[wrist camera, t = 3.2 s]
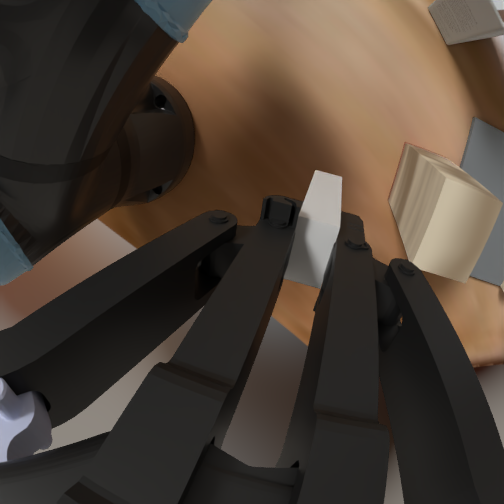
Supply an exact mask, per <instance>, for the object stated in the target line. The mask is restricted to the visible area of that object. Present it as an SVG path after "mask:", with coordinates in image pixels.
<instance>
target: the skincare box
mask: <svg viewBox="0 0 504 504" xmlns="http://www.w3.org/2000/svg"><path fill="white" fill-rule="evenodd" d="M428 9H429V11H430V13H431V15H432V17H433V19H434V21H435V23H436V24H437V26H438V28H439V30H440V32H441V34H442V36H443V38H444V40H445V42H446V44H447V45H452V44H457V43H463V42H468V41H474V40H479V39H485V38H491V37H496V36H500V35H504V0H436V1H434V2H433V3H432V4H431V5H430V6H429V7H428Z"/></svg>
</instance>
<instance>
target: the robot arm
mask: <svg viewBox="0 0 504 504" xmlns="http://www.w3.org/2000/svg"><path fill="white" fill-rule="evenodd" d="M211 1H212V0H0V285H5V284H7V283H9V282H10V281H12V280H14V279H15V278H17V277H18V276H20V275H21V274H22V273H24V272H26V271H30V270H31V269H32V268H33V265H34V264H36V263H37V262H38V261H40V260H41V259H42V258H43V257H45V256H46V255H47V254H48V253H50V252H51V251H53V250H54V249H55V248H56V247H58V246H59V245H61V244H62V243H63V242H65V241H66V240H67V239H69V238H70V237H71V236H73V235H74V234H76V233H77V232H78V231H80V230H81V229H83V228H84V227H85V226H87V225H88V224H90V223H91V222H93V221H94V220H96V219H97V218H98V217H100V216H101V215H103V214H104V213H106V212H107V211H109V210H110V209H112V208H114V207H121V206H129V205H136V204H143V203H148V202H151V201H153V200H156V199H158V198H159V197H161V196H163V195H164V194H166V193H167V192H169V191H170V190H172V189H173V188H174V187H175V186H176V185H177V184H178V183H179V182H180V181H181V180H182V178H183V177H184V175H185V174H186V172H187V170H188V168H189V166H190V163H191V160H192V156H193V151H194V142H195V134H194V126H193V121H192V117H191V114H190V111H189V108H188V106H187V104H186V102H185V101H184V99H183V97H182V96H181V95H180V93H179V92H178V91H177V90H176V89H175V88H174V87H173V86H172V85H171V84H170V83H168V82H167V81H165V80H164V79H162V78H160V77H157V76H155V74H156V73H157V71H158V70H159V68H160V67H161V66H162V64H163V63H164V61H165V60H166V59H167V57H168V56H169V55H170V53H171V52H172V51H173V49H174V48H175V47H176V46H177V44H178V43H179V42H180V43H183V42H184V41H185V40H186V39H187V38H188V31H189V30H190V28H191V27H192V26H193V24H194V23H195V21H196V20H197V19H198V18H199V16H200V15H201V14H202V12H203V11H204V10H205V9H206V7H207V6H208V5H209V4H210V2H211ZM341 197H342V177H340V176H337V175H333V174H329V173H326V172H322V171H318V170H315V173H314V175H313V178H312V181H311V183H310V186H309V189H308V192H307V194H306V197H305V200H304V202H303V201H299V200H295V199H291V198H288V197H285V196H279V195H271V196H266V197H265V198H264V199H263V205H262V211H261V217H260V220H259V222H258V223H257V225H256V226H239V225H237V218H236V217H235V216H234V215H233V214H231V213H228V212H225V211H222V210H215V211H208V212H205V213H203V214H201V215H199V216H197V217H195V218H193V219H192V220H190V221H188V222H186V223H184V224H182V225H180V226H178V227H177V228H175V229H173V230H171V231H169V232H167V233H165V234H164V235H162V236H160V237H158V238H156V239H155V240H153V241H151V242H149V243H147V244H146V245H144V246H142V247H140V248H138V249H137V250H135V251H133V252H131V253H130V254H128V255H126V256H124V257H123V258H121V259H119V260H118V261H116V262H114V263H112V264H111V265H109V266H107V267H106V268H104V269H102V270H101V271H99V272H97V273H96V274H94V275H92V276H91V277H89V278H87V279H86V280H84V281H83V282H81V283H79V284H77V285H76V286H74V287H73V288H71V289H69V290H68V291H66V292H65V293H63V294H61V295H60V296H58V297H57V298H55V299H53V300H52V301H50V302H49V303H47V304H46V305H44V306H43V307H41V308H40V309H38V310H36V311H35V312H33V313H32V314H30V315H29V316H28V317H26V318H24V319H23V320H22V321H20V322H18V323H17V324H16V325H14V326H13V327H10V328H7V329H4V330H2V331H0V504H383V503H384V497H385V488H386V479H387V470H388V458H389V431H388V429H387V427H386V426H385V425H381V424H379V422H378V416H377V414H378V386H379V377H380V381H381V384H382V389H383V393H384V397H385V401H386V405H387V410H388V414H389V419H390V423H391V428H392V433H393V438H394V443H395V449H396V454H397V460H398V465H399V471H400V477H401V484H402V490H403V498H404V504H504V448H503V446H502V442H501V439H500V436H499V433H498V430H497V427H496V424H495V421H494V418H493V415H492V413H491V410H490V407H489V405H488V402H487V400H486V397H485V395H484V392H483V390H482V387H481V385H480V382H479V380H478V378H477V375H476V373H475V371H474V369H473V366H472V364H471V362H470V360H469V358H468V356H467V354H466V352H465V349H464V347H463V345H462V343H461V341H460V339H459V337H458V335H457V333H456V331H455V330H454V328H453V326H452V324H451V322H450V320H449V318H448V316H447V315H446V313H445V311H444V309H443V307H442V305H441V304H440V302H439V300H438V298H437V297H436V295H435V293H434V292H433V290H432V288H431V286H430V285H429V283H428V281H427V280H426V278H425V277H424V275H423V273H422V272H421V270H420V269H419V268H418V267H417V266H416V265H414V264H413V263H412V262H409V261H408V260H406V259H405V260H404V259H399V258H395V259H392V260H391V262H390V264H389V266H387V265H385V264H383V263H381V262H379V261H377V260H376V259H374V258H373V257H372V249H371V247H370V245H369V244H368V243H367V242H365V235H364V228H363V227H364V226H363V221H362V220H361V219H360V217H359V216H357V215H353V214H350V213H346V212H343V211H341ZM283 278H284V279H287V280H291V281H294V282H298V283H301V284H305V285H309V286H312V287H316V288H319V289H320V288H321V290H320V293H319V295H318V298H317V301H316V304H315V306H314V309H313V311H315V316H314V321H313V326H312V331H311V336H310V341H309V346H308V350H307V355H306V359H305V364H304V368H303V373H302V377H301V381H300V385H299V389H298V394H297V398H296V402H295V406H294V410H293V414H292V417H291V421H290V425H289V428H288V432H287V436H286V440H285V443H284V446H283V450H282V453H281V456H280V458H279V460H278V462H277V464H276V467H275V468H264V467H251V466H248V465H246V464H244V463H243V462H241V461H239V460H237V459H236V458H234V457H232V456H231V455H229V454H227V453H226V452H224V451H222V450H221V446H222V443H223V440H224V438H225V435H226V432H227V430H228V428H229V425H230V423H231V420H232V418H233V415H234V413H235V410H236V408H237V405H238V402H239V400H240V397H241V395H242V392H243V390H244V387H245V385H246V382H247V379H248V377H249V374H250V372H251V369H252V366H253V364H254V361H255V358H256V356H257V353H258V350H259V347H260V345H261V342H262V339H263V337H264V334H265V331H266V328H267V326H268V323H269V320H270V317H271V315H272V312H273V309H274V306H275V303H276V301H277V298H278V295H279V292H280V289H281V286H282V282H283ZM322 282H323V283H322ZM321 285H322V287H321ZM205 304H206V305H205ZM204 305H205V306H204ZM203 306H204V308H203V309H202V311H201V312H200V314H199V316H198V317H197V319H196V320H195V322H194V324H193V325H192V327H191V329H190V330H189V331H188V333H187V335H186V337H185V338H184V340H183V341H182V343H181V344H180V346H179V348H178V349H177V351H176V352H175V354H174V356H173V357H172V358H171V360H170V361H169V362H168V363H162V362H159V363H158V364H156V365H155V366H154V367H153V368H152V369H151V371H150V372H149V373H148V375H147V376H146V378H145V379H144V381H143V382H142V384H141V385H140V387H139V388H138V390H137V391H136V393H135V395H134V396H133V398H132V399H131V401H130V402H129V404H128V405H127V407H126V408H125V410H124V411H123V413H122V415H121V416H120V418H119V419H118V421H117V422H116V424H115V425H114V427H113V429H112V430H111V431H110V432H106V433H102V434H100V435H97V436H94V437H91V438H88V439H85V440H82V441H79V442H76V443H73V444H70V445H66V446H63V447H60V448H57V449H53V450H49V451H46V452H42V453H38V454H35V455H33V454H34V452H36V451H37V450H39V449H43V450H44V449H47V448H49V447H50V446H51V443H52V435H51V429H52V428H54V427H57V426H59V425H61V424H63V423H65V422H67V421H68V420H70V419H72V418H73V417H75V416H76V415H77V414H79V413H80V412H82V411H83V410H84V409H86V408H87V407H88V406H89V405H90V404H92V403H93V402H94V401H95V400H96V399H97V398H98V397H100V396H101V395H102V394H103V393H104V392H105V391H107V390H108V389H109V388H110V387H111V386H112V385H114V384H115V383H116V382H117V381H118V380H119V379H120V378H122V377H123V376H124V375H125V374H126V373H127V372H129V371H130V370H131V369H132V368H133V367H134V366H136V365H137V364H138V363H139V362H140V361H141V360H142V359H144V358H145V357H146V356H147V355H148V354H149V353H150V352H152V351H153V350H154V349H155V348H156V347H157V346H159V345H160V344H161V343H162V342H163V341H164V340H165V339H167V338H168V337H169V336H170V335H171V334H172V333H173V332H175V331H176V330H177V329H178V328H179V327H180V326H181V325H183V324H184V323H185V322H186V321H187V320H188V319H189V318H191V317H192V316H193V315H194V314H195V313H196V312H197V311H198V310H199V309H201V308H202V307H203ZM401 317H402V324H401V322H400V319H401Z"/></svg>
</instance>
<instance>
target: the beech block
mask: <svg viewBox="0 0 504 504" xmlns="http://www.w3.org/2000/svg"><path fill="white" fill-rule="evenodd" d="M388 201H389V204H390V206H391V209H392V212H393V214H394V217H395V220H396V223H397V226H398V229H399V232H400V235H401V238H402V241H403V244H404V247H405V250H406V253H407V256H408V260H409V262H412V263H413V264H414V265H416V266H417V267H418V268H419V269H420V270H423V271H426V272H430V273H433V274H436V275H440V276H443V277H446V278H449V279H452V280H456V281H459V282H462V283H466V281H467V279H468V278H469V276H470V274H471V272H472V270H473V268H474V266H475V264H476V263H477V261H478V259H479V257H480V255H481V253H482V251H483V248H484V246H485V244H486V242H487V240H488V238H489V236H490V233H491V231H492V229H493V227H494V224H495V222H496V220H497V217H498V215H499V212H500V210H501V207H502V205H503V203H502V202H501V201H500V200H499V199H498V198H497V197H496V196H494V195H493V194H492V193H491V192H490V191H489V190H487V189H486V188H485V187H484V186H483V185H481V184H480V183H479V182H478V181H476V180H475V179H474V178H473V177H471V176H470V175H469V174H468V173H466V172H465V171H464V170H462V169H461V168H460V167H458V166H457V165H456V164H454V163H453V162H452V161H450V160H449V159H447V158H446V157H443V156H441V155H439V154H436V153H433V152H431V151H428V150H426V149H423V148H420V147H418V146H415V145H412V144H409V143H406V142H405V143H404V147H403V151H402V154H401V158H400V162H399V165H398V168H397V172H396V175H395V179H394V182H393V185H392V188H391V191H390V195H389V198H388Z"/></svg>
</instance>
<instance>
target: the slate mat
mask: <svg viewBox="0 0 504 504" xmlns="http://www.w3.org/2000/svg"><path fill="white" fill-rule="evenodd" d="M460 168H461V169H462V170H464V171H465V172H466V173H468V174H469V175H470V176H471V177H473V178H474V179H475V180H476V181H478V182H479V183H480V184H481V185H483V186H484V187H485V188H486V189H487V190H489V191H490V192H491V193H492V194H493V195H494V196H496V197H497V198H498V199H499V200H500V201H501V202H502V203H503V205H502V207H501V210H500V212H499V215H498V217H497V220H496V222H495V224H494V227H493V229H492V231H491V233H490V236H489V238H488V240H487V242H486V244H485V246H484V248H483V251H482V253H481V255H480V257H479V259H478V261H477V263H476V264H475V266H474V268H473V270H472V272H471V274H470V276H472V277H475V278H478V279H481V280H484V281H487V282H489V283H492V284H495V285H498V286H500V287H501V288H502V290H503V292H504V132H502V131H500V130H498V129H496V128H495V127H493V126H491V125H489V124H487V123H485V122H483V121H482V120H480V119H478V118H476V117H473V120H472V124H471V128H470V132H469V136H468V140H467V144H466V147H465V151H464V154H463V158H462V161H461V164H460Z"/></svg>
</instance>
